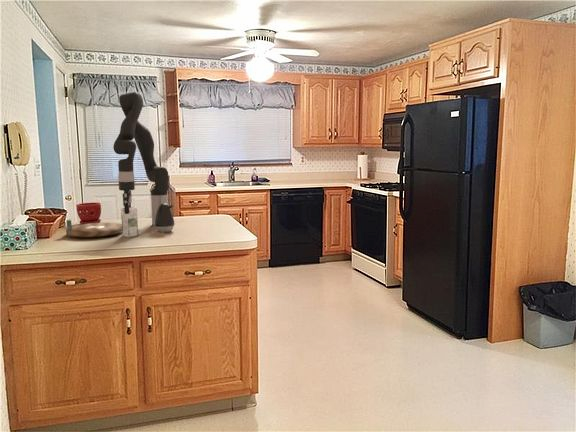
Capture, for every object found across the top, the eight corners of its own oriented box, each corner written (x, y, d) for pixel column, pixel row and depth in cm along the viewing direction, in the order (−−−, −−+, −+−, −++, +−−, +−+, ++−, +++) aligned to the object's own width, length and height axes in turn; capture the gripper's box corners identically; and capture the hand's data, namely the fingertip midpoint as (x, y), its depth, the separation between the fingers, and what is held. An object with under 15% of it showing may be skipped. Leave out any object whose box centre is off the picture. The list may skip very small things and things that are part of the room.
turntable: (119, 224, 264) (118, 212, 263) (128, 233, 240) (128, 219, 239) (64, 229, 250) (63, 216, 249) (68, 239, 226) (67, 225, 225)
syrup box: (132, 234, 244) (130, 206, 241) (138, 236, 240) (137, 207, 238) (122, 236, 240) (120, 208, 237) (128, 237, 236) (127, 209, 233)
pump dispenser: (170, 233, 245) (168, 205, 243) (151, 233, 248) (150, 204, 245) (178, 230, 255) (177, 202, 253) (160, 229, 257) (159, 201, 255)
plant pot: (106, 221, 280) (104, 201, 278) (95, 226, 267) (93, 205, 265) (85, 221, 281) (83, 201, 279) (73, 225, 268) (71, 204, 266)
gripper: (120, 179, 241) (121, 210, 244) (116, 181, 228) (118, 214, 230) (135, 179, 243) (136, 210, 245) (132, 181, 229) (134, 214, 232)
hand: (127, 212), depth 238 cm, fingers open, 8 cm apart
